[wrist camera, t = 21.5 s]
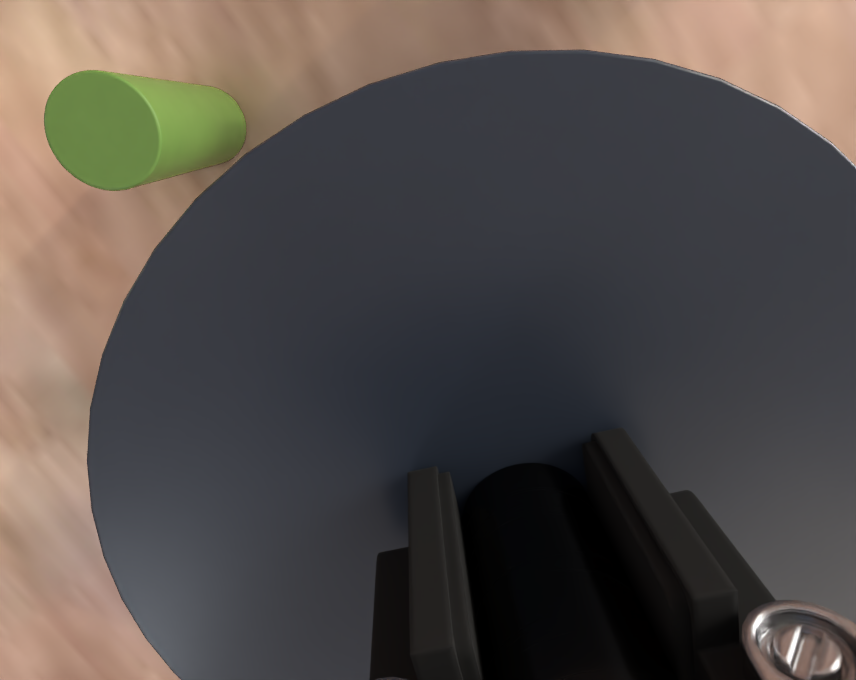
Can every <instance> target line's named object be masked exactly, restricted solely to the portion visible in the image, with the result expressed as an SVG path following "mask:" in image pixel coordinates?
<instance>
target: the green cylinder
mask: <svg viewBox="0 0 856 680" xmlns="http://www.w3.org/2000/svg"><path fill="white" fill-rule="evenodd" d="M44 126H45V133H46V137H47V140H48V143H49V145H50V147H51V149H52V151H53V153H54V155H55V156H56V158H57V160H58V161H59V162H60V163H61V165H62V166H63V167H64V168H65V169H66V170H67V171H68V172H69V173H71V174H72V175H73V176H74V177H76V178H77V179H79V180H80V181H82V182H84V183H86V184H88V185H90V186H92V187H95V188H98V189H103V190H110V191H120V190H126V189H130V188H133V187H137V186H141V185H144V184H148V183H151V182H155V181H159V180H162V179H166V178H170V177H173V176H177V175H180V174H184V173H188V172H191V171H195V170H198V169H202V168H206V167H209V166H213V165H217V164H220V163H223V162H226V161H228V160H230V159H232V158H233V157H234V156H235V155H237V153H238V152H239V151H240V149H241V148H242V146H243V144H244V141H245V137H246V123H245V119H244V116H243V113H242V111H241V109H240V107H239V106H238V104H237V103H236V102H235V100H234V99H233V98H232V97H231V96H229V95H228V94H227V93H225V92H224V91H222V90H220V89H217V88H215V87H211V86H204V85H197V84H190V83H183V82H176V81H169V80H162V79H155V78H148V77H141V76H134V75H127V74H120V73H113V72H106V71H98V70H87V71H81V72H77V73H74V74H72V75H70V76H68V77H66V78H65V79H63V80H62V81H61V82H60V83H59V84H58V85H57V86H56V87H55V88H54V90H53V91H52V92H51V94H50V96H49V98H48V101H47V104H46V107H45V113H44Z"/></svg>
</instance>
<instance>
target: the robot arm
mask: <svg viewBox="0 0 856 680" xmlns="http://www.w3.org/2000/svg"><path fill="white" fill-rule="evenodd" d="M582 453H583V460H584V467H585V474H586V480H587V487H588V494H589V498H590V500H591V502H592V504H593V506H594V508H595V510H596V512H597V514H598V516H599V518H600V521H601V523H602V525H603V527H604V529H605V531H606V533H607V535H608V537H609V539H610V541H611V543H612V545H613V547H614V549H615V551H616V553H617V555H618V557H619V560H620V562H621V564H622V566H623V568H624V570H625V572H626V574H627V576H628V578H629V580H630V582H631V584H632V586H633V588H634V590H635V592H636V594H637V596H638V598H639V601H640V603H641V605H642V607H643V609H644V611H645V613H646V615H647V617H648V619H649V621H650V623H651V625H652V627H653V629H654V631H655V633H656V635H657V637H658V639H659V642H660V644H661V646H662V648H663V650H664V652H665V654H666V656H667V658H668V660H669V662H670V664H671V666H672V668H673V670H674V672H675V674H676V676H677V678H678V680H856V625H855V624H854V623H853V622H852V621H850V620H849V619H847V618H845V617H844V616H842V615H840V614H839V613H837V612H836V611H834V610H831V609H828V608H826V607H823V606H820V605H818V604H815V603H810V602H804V601H799V600H775V598H774V597H773V596H772V594H771V593H770V592H769V590H768V589H767V588H766V586H765V585H764V584H763V583H762V581H761V580H760V579H759V577H758V576H757V575H756V573H755V572H754V571H753V570H752V568H751V567H750V566H749V564H748V563H747V562H746V560H745V559H744V558H743V556H742V555H741V554H740V553H739V551H738V550H737V549H736V547H735V546H734V545H733V543H732V542H731V541H730V540H729V538H728V537H727V536H726V534H725V533H724V532H723V530H722V529H721V528H720V526H719V525H718V524H717V523H716V521H715V520H714V519H713V517H712V516H711V515H710V513H709V512H708V511H707V510H706V508H705V507H704V506H703V504H702V503H701V502H700V500H699V499H698V498H697V497H696V496H695V494H694V493H693V492H692V491H689V490H683V491H678V492H674V493H669V492H668V491H667V489H666V488H665V486H664V485H663V484H662V482H661V481H660V479H659V478H658V476H657V475H656V474H655V472H654V471H653V469H652V468H651V466H650V465H649V464H648V462H647V461H646V459H645V458H644V456H643V455H642V454H641V452H640V451H639V449H638V448H637V447H636V445H635V444H634V442H633V441H632V439H631V438H630V437H629V435H628V434H627V432H626V431H625V430H624V429H623V428H616V429H611V430H606V431H602V432H597V433H592V435H591V442H588V443H583V444H582ZM407 482H408V547H404V548H399V549H395V550H390V551H385V552H380V553H378V555H377V561H376V576H375V593H374V610H373V628H372V645H371V662H370V679H369V680H485V678H484V671H483V664H482V658H481V651H480V644H479V637H478V630H477V623H476V616H475V610H474V603H473V596H472V589H471V582H470V575H469V568H468V562H467V555H466V548H465V541H464V534H463V527H462V521H461V517H460V512H459V508H458V504H457V500H456V496H455V492H454V487H453V483H452V479H451V475H450V472H445V473H440V474H439V472H438V468H437V466H434V467H430V468H425V469H420V470H415V471H411V472H408V475H407Z"/></svg>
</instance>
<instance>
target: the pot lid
mask: <svg viewBox="0 0 856 680" xmlns="http://www.w3.org/2000/svg"><path fill="white" fill-rule="evenodd" d="M616 428H623V429H624V430H625V431H626V432H627V434H628V435H629V437H630V438H631V439H632V441H633V442H634V444H635V445H636V447H637V448H638V449H639V451H640V452H641V454H642V455H643V456H644V458H645V459H646V461H647V462H648V464H649V465H650V466H651V468H652V469H653V471H654V472H655V474H656V475H657V476H658V478H659V479H660V481H661V482H662V484H663V485H664V486H665V488H666V489H667V491H668V492H669V493H674V492H678V491H683V490H689V491H692V492H693V493H694V494H695V496H696V497H697V498H698V499H699V500H700V502H701V503H702V504H703V506H704V507H705V508H706V510H707V511H708V512H709V513H710V515H711V516H712V517H713V519H714V520H715V521H716V523H717V524H718V525H719V526H720V528H721V529H722V530H723V532H724V533H725V534H726V536H727V537H728V538H729V540H730V541H731V542H732V543H733V545H734V546H735V547H736V549H737V550H738V551H739V553H740V554H741V555H742V556H743V558H744V559H745V560H746V562H747V563H748V564H749V566H750V567H751V568H752V570H753V571H754V572H755V573H756V575H757V576H758V577H759V579H760V580H761V581H762V583H763V584H764V585H765V586H766V588H767V589H768V590H769V592H770V593H771V594H772V596H773V597H774V598H775V600H799V601H804V602H810V603H815V604H818V605H820V606H823V607H826V608H828V609H831V610H834V611H836V612H837V613H839V614H840V615H842V616H844V617H845V618H847V619H849V620H850V621H852V622H853V623H854V624H855V625H856V166H855V165H854V164H853V163H852V162H851V161H850V160H849V159H848V158H847V157H846V156H845V155H844V154H843V153H842V152H841V151H840V150H839V149H838V148H837V147H836V146H835V145H834V144H833V143H832V142H830V141H829V140H828V139H826V138H825V137H823V136H822V135H820V134H819V133H817V132H816V131H815V130H813V129H812V128H810V127H809V126H807V125H806V124H804V123H803V122H801V121H800V120H799V119H797V118H796V117H794V116H793V115H791V114H790V113H788V112H787V111H786V110H784V109H783V108H781V107H780V106H778V105H776V104H773V103H771V102H769V101H767V100H765V99H763V98H761V97H759V96H757V95H754V94H752V93H750V92H748V91H746V90H744V89H742V88H740V87H737V86H735V85H733V84H731V83H729V82H727V81H725V80H723V79H721V78H717V77H714V76H711V75H707V74H704V73H700V72H697V71H693V70H690V69H687V68H683V67H680V66H676V65H673V64H669V63H666V62H663V61H659V60H656V59H650V58H643V57H635V56H627V55H620V54H612V53H605V52H597V51H590V50H532V51H507V52H501V53H494V54H488V55H482V56H476V57H470V58H463V59H457V60H451V61H445V62H439V63H435V64H432V65H429V66H426V67H422V68H419V69H416V70H413V71H410V72H406V73H403V74H400V75H397V76H394V77H390V78H387V79H384V80H381V81H378V82H374V83H371V84H368V85H366V86H364V87H362V88H360V89H358V90H356V91H353V92H351V93H349V94H347V95H345V96H343V97H341V98H339V99H337V100H335V101H332V102H330V103H328V104H326V105H324V106H322V107H320V108H318V109H316V110H314V111H312V112H309V113H307V114H305V115H303V116H302V117H300V118H299V119H297V120H296V121H294V122H293V123H291V124H290V125H288V126H287V127H285V128H284V129H282V130H281V131H279V132H278V133H276V134H275V135H273V136H272V137H270V138H269V139H267V140H266V141H264V142H263V143H261V144H260V145H258V146H257V147H255V148H254V149H252V150H251V151H249V152H248V153H246V154H245V155H244V156H243V157H242V158H240V159H239V160H238V161H237V162H236V163H235V164H234V165H233V166H232V167H230V168H229V169H228V170H227V171H226V172H225V173H224V174H223V175H222V176H220V177H219V178H218V179H217V180H216V181H215V182H214V183H213V184H212V185H210V186H209V187H208V188H207V189H206V190H205V191H204V192H203V193H202V194H201V195H199V196H198V197H197V198H196V199H195V200H194V201H193V203H192V204H191V205H190V206H189V207H188V209H187V210H186V211H185V212H184V214H183V215H182V216H181V217H180V218H179V220H178V221H177V222H176V223H175V225H174V226H173V227H172V228H171V229H170V231H169V232H168V233H167V234H166V235H165V237H164V238H163V239H162V240H161V242H160V243H159V244H158V245H157V246H156V248H155V249H154V251H153V252H152V254H151V256H150V257H149V259H148V261H147V262H146V264H145V266H144V267H143V269H142V271H141V272H140V274H139V276H138V278H137V279H136V281H135V283H134V284H133V286H132V288H131V289H130V291H129V293H128V294H127V296H126V298H125V299H124V301H123V304H122V306H121V309H120V311H119V314H118V316H117V319H116V321H115V324H114V326H113V329H112V331H111V334H110V336H109V339H108V341H107V344H106V346H105V349H104V351H103V354H102V358H101V362H100V367H99V371H98V376H97V380H96V385H95V389H94V393H93V398H92V402H91V407H90V420H89V436H88V453H87V466H88V476H89V487H90V497H91V507H92V513H93V517H94V521H95V525H96V529H97V532H98V536H99V540H100V544H101V548H102V552H103V556H104V558H105V561H106V563H107V565H108V568H109V570H110V572H111V575H112V577H113V579H114V582H115V584H116V586H117V589H118V591H119V594H120V596H121V598H122V600H123V602H124V603H125V605H126V607H127V608H128V610H129V612H130V613H131V615H132V617H133V618H134V620H135V622H136V623H137V625H138V626H139V628H140V630H141V631H142V633H143V635H144V636H145V638H146V639H147V640H148V642H149V643H150V644H151V645H152V647H153V648H154V649H155V650H156V651H157V653H158V654H159V655H160V656H161V658H162V659H163V660H164V661H165V663H166V664H167V665H168V666H169V667H170V669H171V670H172V671H173V672H174V673H175V674H176V675H177V676H178V677H179V678H180V679H181V680H369V679H370V662H371V645H372V628H373V610H374V593H375V576H376V561H377V555H378V553H380V552H385V551H390V550H395V549H399V548H404V547H408V482H407V475H408V472H411V471H415V470H420V469H425V468H430V467H434V466H437V468H438V472H439V474H440V473H445V472H450V475H451V479H452V483H453V487H454V492H455V496H456V500H457V504H458V508H459V512H460V517H461V521H462V527H463V534H464V541H465V548H466V555H467V562H468V568H469V575H470V582H471V589H472V596H473V603H474V610H475V616H476V623H477V630H478V637H479V644H480V651H481V658H482V664H483V671H484V678H485V680H678V678H677V676H676V674H675V672H674V670H673V668H672V666H671V664H670V662H669V660H668V658H667V656H666V654H665V652H664V650H663V648H662V646H661V644H660V642H659V639H658V637H657V635H656V633H655V631H654V629H653V627H652V625H651V623H650V621H649V619H648V617H647V615H646V613H645V611H644V609H643V607H642V605H641V603H640V601H639V598H638V596H637V594H636V592H635V590H634V588H633V586H632V584H631V582H630V580H629V578H628V576H627V574H626V572H625V570H624V568H623V566H622V564H621V562H620V560H619V557H618V555H617V553H616V551H615V549H614V547H613V545H612V543H611V541H610V539H609V537H608V535H607V533H606V531H605V529H604V527H603V525H602V523H601V521H600V518H599V516H598V514H597V512H596V510H595V508H594V506H593V504H592V502H591V500H590V498H589V494H588V487H587V480H586V474H585V467H584V460H583V453H582V444H583V443H588V442H591V435H592V433H597V432H602V431H606V430H611V429H616Z"/></svg>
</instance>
